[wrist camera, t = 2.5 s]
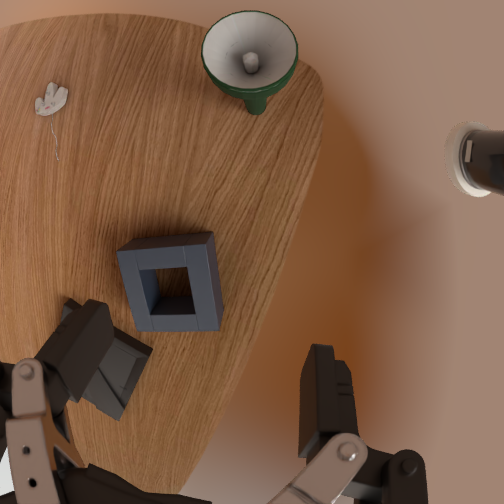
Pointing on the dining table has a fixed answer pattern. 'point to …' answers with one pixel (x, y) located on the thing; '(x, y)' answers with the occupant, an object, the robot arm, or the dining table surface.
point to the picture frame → (114, 371)
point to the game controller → (51, 101)
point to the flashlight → (250, 56)
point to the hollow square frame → (172, 308)
